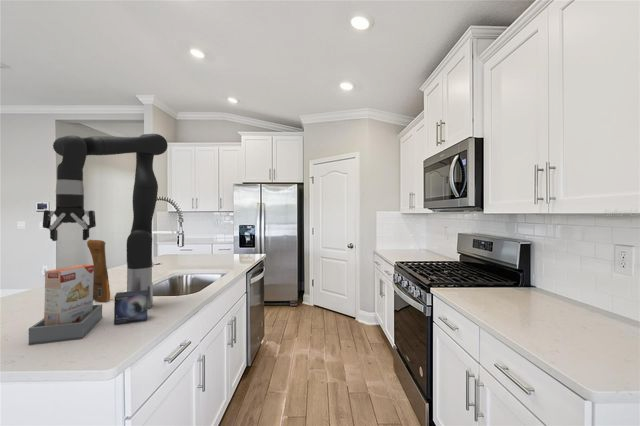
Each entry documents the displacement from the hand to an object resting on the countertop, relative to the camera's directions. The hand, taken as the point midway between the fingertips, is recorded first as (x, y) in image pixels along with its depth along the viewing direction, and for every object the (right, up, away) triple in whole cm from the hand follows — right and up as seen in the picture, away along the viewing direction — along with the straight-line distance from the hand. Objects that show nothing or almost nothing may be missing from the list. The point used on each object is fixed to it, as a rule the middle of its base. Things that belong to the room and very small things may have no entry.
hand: (70, 240), depth 107 cm
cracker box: (0, -31, 0) cm, 31 cm away
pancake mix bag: (-16, -31, +37) cm, 51 cm away
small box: (+15, -31, +10) cm, 36 cm away
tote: (0, -31, 0) cm, 31 cm away
